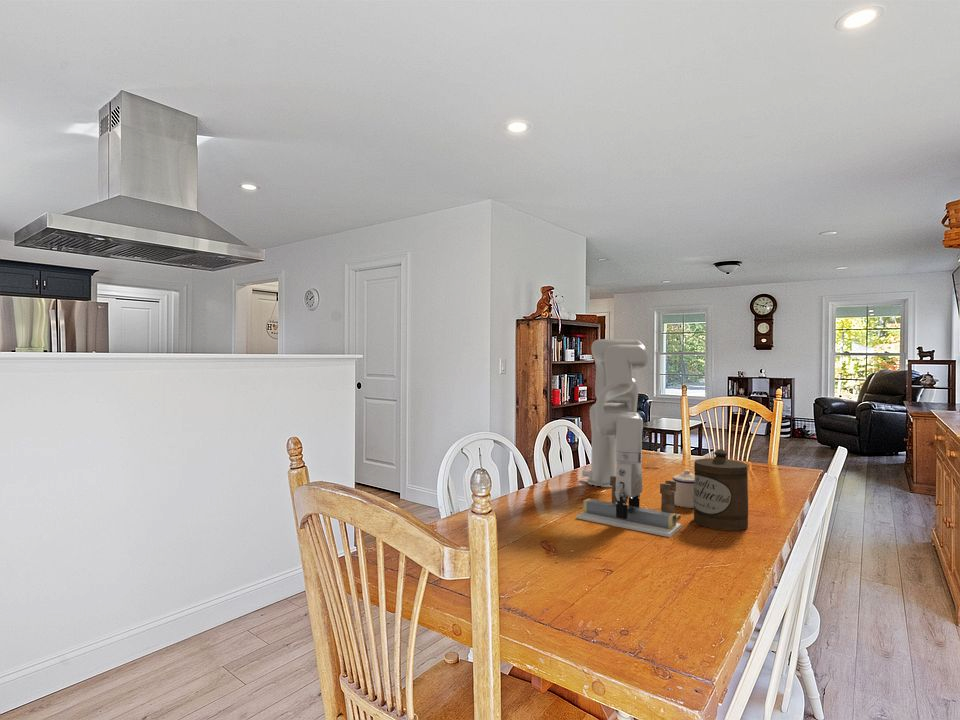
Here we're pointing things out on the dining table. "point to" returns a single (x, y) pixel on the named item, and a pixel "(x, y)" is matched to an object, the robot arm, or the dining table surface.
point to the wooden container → (721, 493)
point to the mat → (629, 524)
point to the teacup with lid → (684, 489)
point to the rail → (631, 514)
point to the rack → (665, 490)
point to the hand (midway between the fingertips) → (627, 514)
